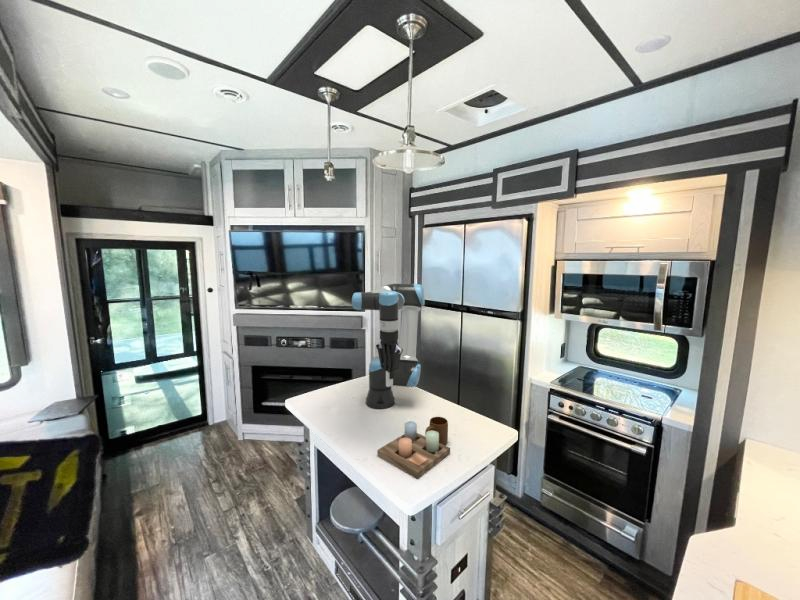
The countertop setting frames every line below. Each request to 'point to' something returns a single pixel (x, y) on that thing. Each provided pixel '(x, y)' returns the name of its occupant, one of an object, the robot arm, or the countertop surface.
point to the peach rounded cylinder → (405, 447)
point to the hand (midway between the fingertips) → (389, 385)
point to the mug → (439, 428)
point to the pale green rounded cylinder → (432, 441)
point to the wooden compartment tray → (413, 456)
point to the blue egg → (410, 430)
